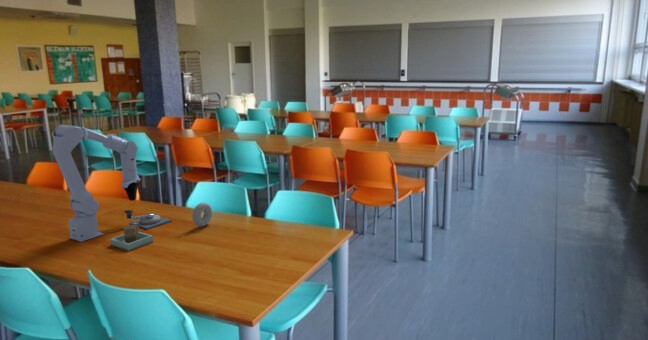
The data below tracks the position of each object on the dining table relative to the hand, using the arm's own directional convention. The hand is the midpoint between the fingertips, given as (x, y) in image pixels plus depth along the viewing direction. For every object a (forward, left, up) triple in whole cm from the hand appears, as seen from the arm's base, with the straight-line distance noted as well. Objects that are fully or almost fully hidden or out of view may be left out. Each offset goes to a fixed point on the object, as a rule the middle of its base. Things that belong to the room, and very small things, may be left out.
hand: (132, 200), depth 204 cm
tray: (-17, -22, -9) cm, 29 cm away
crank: (-2, -6, -7) cm, 9 cm away
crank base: (+2, -8, -9) cm, 13 cm away
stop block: (-17, -22, -9) cm, 29 cm away
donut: (+11, -30, -10) cm, 33 cm away
